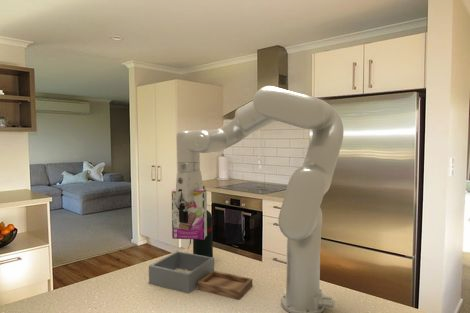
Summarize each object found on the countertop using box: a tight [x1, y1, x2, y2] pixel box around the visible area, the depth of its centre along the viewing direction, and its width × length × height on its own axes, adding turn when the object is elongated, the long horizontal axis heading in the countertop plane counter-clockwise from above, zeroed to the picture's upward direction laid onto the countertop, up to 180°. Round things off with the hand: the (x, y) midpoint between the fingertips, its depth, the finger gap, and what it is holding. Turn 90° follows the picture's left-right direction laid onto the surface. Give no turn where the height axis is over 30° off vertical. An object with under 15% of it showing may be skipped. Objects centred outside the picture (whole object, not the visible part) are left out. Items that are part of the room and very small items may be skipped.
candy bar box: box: [171, 188, 208, 240], centre depth 114 cm, size 11×5×16 cm, turn 84°
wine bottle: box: [186, 185, 214, 258], centre depth 131 cm, size 8×10×30 cm
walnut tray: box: [196, 270, 253, 301], centre depth 110 cm, size 15×10×2 cm, turn 64°
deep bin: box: [148, 250, 215, 294], centre depth 116 cm, size 16×16×6 cm
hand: (189, 219), depth 114 cm, fingers closed on candy bar box, 6 cm apart
